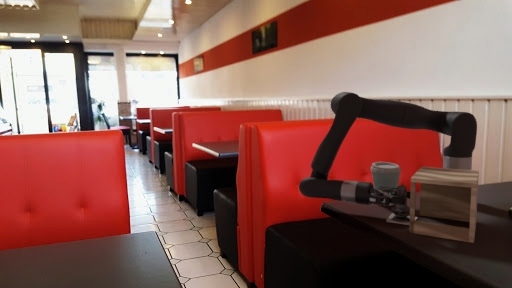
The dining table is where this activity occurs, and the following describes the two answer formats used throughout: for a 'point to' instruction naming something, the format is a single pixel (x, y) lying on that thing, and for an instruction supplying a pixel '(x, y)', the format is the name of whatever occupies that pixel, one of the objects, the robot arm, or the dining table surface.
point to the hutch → (445, 202)
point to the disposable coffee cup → (385, 175)
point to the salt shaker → (401, 206)
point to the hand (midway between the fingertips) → (408, 198)
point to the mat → (398, 222)
